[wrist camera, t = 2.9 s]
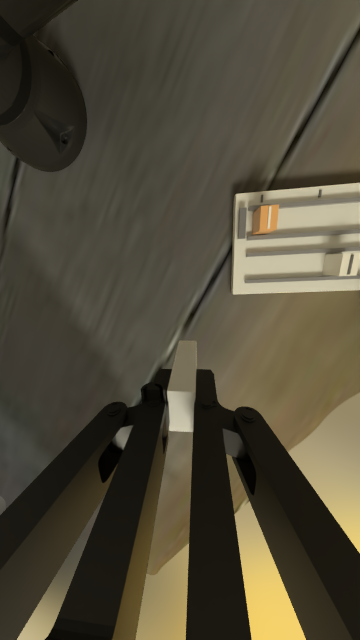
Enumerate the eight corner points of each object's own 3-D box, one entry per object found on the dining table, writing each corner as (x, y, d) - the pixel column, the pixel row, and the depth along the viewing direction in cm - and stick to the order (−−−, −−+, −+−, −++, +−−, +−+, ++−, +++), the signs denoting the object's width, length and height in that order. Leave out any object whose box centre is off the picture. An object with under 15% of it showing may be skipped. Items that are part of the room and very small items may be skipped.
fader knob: (253, 212, 30) (261, 205, 26) (268, 211, 30) (279, 204, 26) (252, 234, 31) (259, 230, 27) (267, 233, 31) (277, 229, 27)
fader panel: (233, 197, 32) (241, 183, 26) (407, 182, 29) (460, 162, 23) (231, 292, 36) (237, 298, 30) (379, 287, 34) (418, 292, 28)
